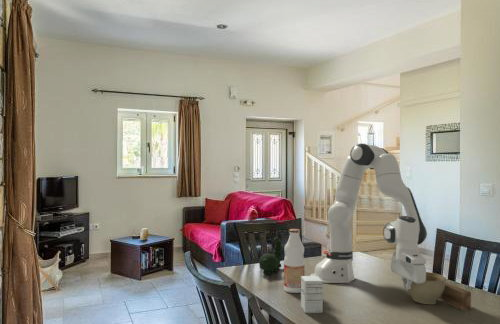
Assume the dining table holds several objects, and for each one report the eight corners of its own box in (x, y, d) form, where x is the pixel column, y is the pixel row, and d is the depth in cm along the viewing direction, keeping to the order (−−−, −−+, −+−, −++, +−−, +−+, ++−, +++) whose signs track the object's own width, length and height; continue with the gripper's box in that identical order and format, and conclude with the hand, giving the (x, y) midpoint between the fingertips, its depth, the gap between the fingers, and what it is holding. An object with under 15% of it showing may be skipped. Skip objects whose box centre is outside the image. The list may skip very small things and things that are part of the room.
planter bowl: (445, 310, 161) (446, 283, 161) (403, 303, 168) (403, 277, 168) (445, 298, 175) (446, 273, 175) (406, 293, 182) (406, 269, 182)
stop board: (462, 310, 161) (462, 292, 161) (424, 291, 184) (424, 276, 184) (470, 309, 162) (470, 292, 162) (431, 291, 185) (432, 276, 185)
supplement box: (300, 306, 164) (300, 275, 164) (318, 306, 164) (318, 275, 164) (304, 313, 156) (304, 280, 156) (323, 312, 157) (323, 280, 157)
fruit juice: (293, 294, 178) (293, 231, 178) (279, 289, 186) (280, 229, 186) (308, 291, 184) (309, 230, 184) (294, 286, 191) (295, 227, 192)
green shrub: (270, 269, 228) (253, 276, 205) (271, 235, 230) (255, 239, 207) (286, 271, 224) (271, 278, 201) (287, 237, 226) (272, 240, 203)
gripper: (387, 250, 179) (387, 281, 178) (414, 261, 159) (414, 296, 158) (399, 250, 180) (399, 281, 180) (429, 260, 160) (429, 295, 160)
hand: (407, 288), depth 169 cm, fingers closed
